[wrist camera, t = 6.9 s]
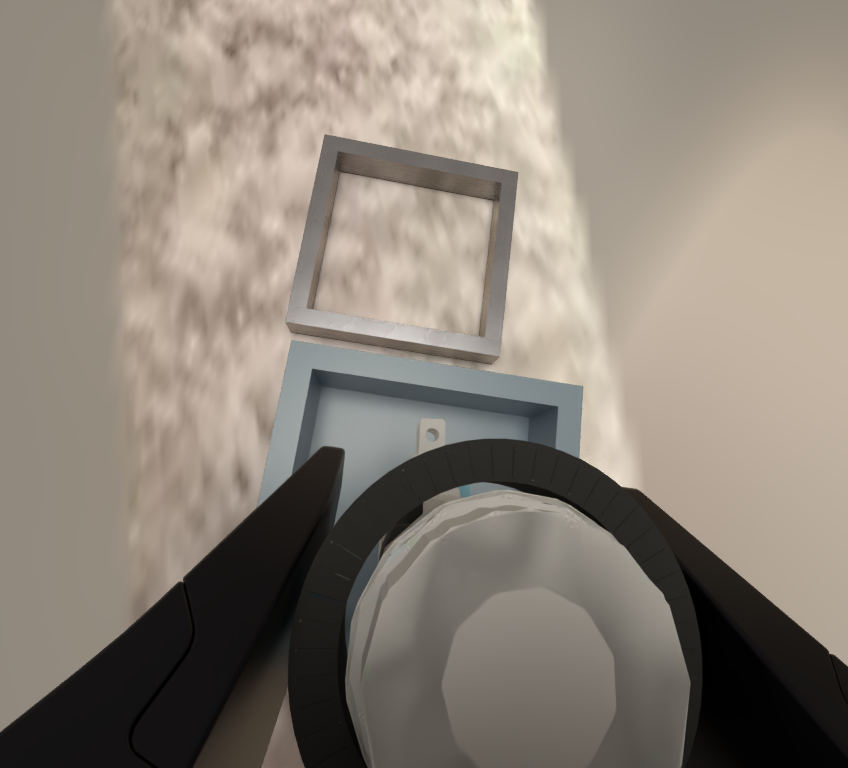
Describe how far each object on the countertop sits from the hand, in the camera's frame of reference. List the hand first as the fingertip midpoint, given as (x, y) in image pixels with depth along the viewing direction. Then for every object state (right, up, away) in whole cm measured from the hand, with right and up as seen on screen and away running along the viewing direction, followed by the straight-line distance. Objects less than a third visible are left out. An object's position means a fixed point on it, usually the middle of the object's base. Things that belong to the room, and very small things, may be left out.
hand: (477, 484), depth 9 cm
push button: (-1, -3, +6) cm, 7 cm away
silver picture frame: (-2, +8, +15) cm, 17 cm away
